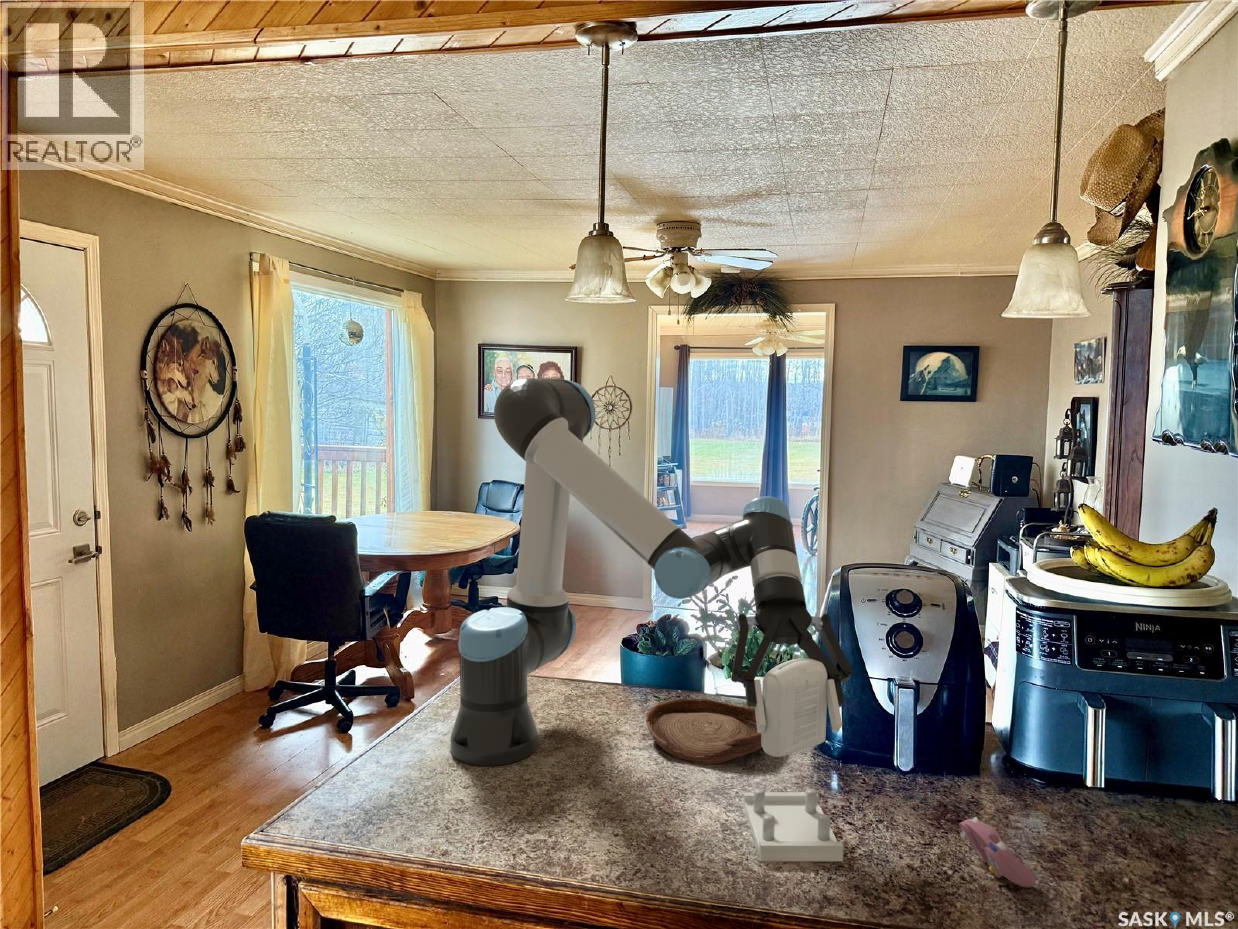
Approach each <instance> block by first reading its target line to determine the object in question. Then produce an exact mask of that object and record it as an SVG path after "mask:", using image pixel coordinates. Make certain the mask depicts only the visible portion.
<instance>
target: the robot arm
mask: <svg viewBox="0 0 1238 929" xmlns="http://www.w3.org/2000/svg"><path fill="white" fill-rule="evenodd" d="M493 418H494V424H495V427H496V428H497V431H498V433H499V434H500V436H501V438H502V439H503V440H504V442H505V443H506V445H508V446H509V447H510V448H511V450H513V451H514V452H515V453H516V454H517V455H518V456H519V457H520V458H521V459H523V461H525V472H524V486H523V496H522V497H523V498H522V509H521V520H520V521H521V523H520V534H519V544H518V545H519V548H518V549H519V550H518V560H517V570H516V572H517V573H516V583H515V585H514V586H513V587H511V589H510V590H508V591H507V597H506V606H504V607H502V606H501V607H500V606H497V607H491V608H490V609H482V610H479V611H477V612H474V613H473V614H471V615H468V616H467V618H465V620H464V621H463V622H462V623H461V625H460V628H459V639H458V645H457V646H458V651H459V652H458V653H459V655H458V656H459V696H460V697H459V698H460V700H459V701H460V702H459V704H460V705H459V708H458V711H457V714H456V715H457V716H456V718H455V722H454V724H453V727H452V731H451V733H450V753H451V755H452V756H453V757H454V758H455V759H457V760H458V761H460V762H463V763H465V764H469V765H474V766H481V767H483V766H487V767H491V766H492V767H493V766H494V767H495V766H505V765H508V764H513V763H516V762H519V761H522V760H523V759H526V758H528V757H530V756H531V755H532V754H533V753H534V752H535V751H536V750H537V748H538V744H539V742H538V740H539V737H538V734H539V733H538V729H537V726H536V723H535V720H534V717H533V714H532V711H531V708H530V705H529V703H528V675H530V674H531V673H533V672H534V671H536V670H538V669H540V668H542V667H543V666H545V665H547V664H548V663H551V662H553V661H555V660H557V659H558V658H559V657H560V656H562V655H563V654H564V653H565V652H567V650H568V649H569V648H570V646H571V645H572V643H573V642H574V639H575V637H576V631H577V620H576V615H575V613H574V611H572V609H571V606H570V605H569V603H570V596H569V594H568V593H567V592H566V590H564V588H563V580H564V568H565V557H566V545H567V544H566V543H567V532H568V524H569V523H568V522H569V521H568V520H569V510H570V498H571V496H572V497H573V498H574V499H576V500H577V501H578V502H579V503H581V505H582V506H584V508H585V509H587V510H588V511H589V512H590V513H591V514H592V515H593V516H595V517H596V519H598V520H599V521H600V522H601V523H602V524H603V525H604V526H606V528H608V529H609V530H610V531H611V532H612V533H613V534H614V535H615V536H616V537H617V538H618V539H620V540H621V541H622V542H623V543H624V544H626V546H627V547H628V548H630V550H632V551H633V552H634V553H635V554H636V555H637V556H639V558H641V559H642V560H643V561H644V562H645V563H646V564H647V565H648V566H650V567H651V568H652V569H653V572H654V573H653V575H654V579H655V583H656V585H657V587H658V588H659V590H660V591H661V592H662V593H663V594H665V595H666V596H668V597H669V598H672V599H679V600H682V599H683V600H684V599H688V598H690V597H693V596H695V595H698V594H700V593H702V592H703V591H704V590H706V588H707V587H709V586H710V585H711V584H713V583H715V582H716V581H718V580H720V579H721V578H723V576H726V575H728V574H730V573H734V572H737V571H739V570H742V569H745V568H748V567H750V574H751V582H752V583H751V584H752V587H753V597H754V598H753V599H754V604H755V615H751V616H746V615H745V614H744V613H741V614H739V615H738V616H737V621H736V629H737V634H738V637H737V642H736V649H735V654H734V659H733V666H732V668H731V669H732V670H731V675H730V680H731V681H732V683H740V684H742V685H743V687H744V691H745V699H746V700H745V701H746V704H747V707H752V708H753V707H755V715H756V723H757V732H758V733H763V731H764V729H765V726H766V721H765V713H764V705H763V698H762V684H761V679H756V677H757V675H758V672H759V670H760V669H761V666H762V664H763V661H764V660H765V657H766V655H767V653H768V651H769V649H770V646H771V645H772V643H773V644H774V645H782V644H787V645H797V646H798V648H799V649H800V650H801V651H803V652H804V653H805V655H806V656H807V657H808V659H813V660H816V661H819V662H821V663H823V665H824V666H825V668H826V671H827V710H828V714H829V715H828V716H829V719H830V720H829V721H830V726H831V733H839V731H840V729H841V728H842V726H843V721H842V716H841V715H842V714H841V710H840V708H841V707H843V705H844V702H845V696H844V691H843V684H842V683H848V682H849V680H850V678H851V677H852V675H853V669H852V666H851V665H850V662H849V661H848V659H847V656H846V655H845V652H844V650H843V648H842V646H841V645H840V643H839V640H838V639H837V636H836V635H835V633H834V630H833V629H832V623H831V616H830V615H829V614H828V613H823V614H822V616H815V615H814V616H812V615H811V614H810V612H809V611H808V609H807V603H806V597H805V592H804V586H803V583H802V575H801V569H800V568H801V567H800V563H799V559H798V554H797V549H796V547H797V546H796V541H795V534H794V525H793V522H792V520H791V516H790V512H789V508H788V505H787V504H786V503H785V502H784V501H783V500H782V499H780V498H778V497H775V496H767V495H766V496H764V495H763V496H759V497H758V496H757V497H756V498H755V497H754V498H753V499H751V500H750V501H749V502H748V503H747V504H746V505H745V506H744V507H743V510H742V519H741V520H737V521H735V522H734V523H730V524H729V525H726V526H723V527H721V528H717V529H714V530H712V531H709V532H706V533H703V534H699V535H696V536H694V537H691V536H689V535H688V534H687V533H686V532H684V530H683V529H681V528H680V527H679V526H678V525H677V524H676V523H675V522H673V520H671V519H670V518H669V517H667V516H666V514H664V513H663V512H662V511H661V510H660V509H659V508H658V507H656V506H655V505H654V504H653V503H652V502H651V501H650V500H649V499H647V497H645V495H643V494H642V493H641V492H639V491H638V490H637V489H636V488H635V487H634V486H633V485H632V484H630V483H629V482H628V481H627V480H626V479H625V478H624V477H622V476H621V475H620V473H618V472H617V471H616V470H615V469H614V468H612V467H611V466H610V465H609V464H608V463H607V462H605V461H604V459H602V458H601V457H600V456H599V455H597V453H595V452H594V451H593V450H592V449H591V448H590V447H588V446H587V444H585V443H584V439H585V438H586V437H587V436H588V434H590V432H591V431H592V430H593V427H594V425H595V422H596V407H595V403H594V401H593V398H592V396H591V395H590V393H589V392H588V391H587V389H586V388H585V387H583V386H582V385H581V384H579V383H578V382H575V381H572V380H570V379H569V380H568V379H563V378H561V377H560V378H554V377H553V378H552V377H551V378H536V377H523V378H519V379H516V380H513V381H511V382H510V383H509V384H507V385H506V386H505V387H504V388H503V389H501V391H500V392H499V394H498V396H497V397H496V400H495V403H494V406H493ZM753 626H755V627H756V628H757V629H758V630H759V631H760V633H762V634H763V637H762V639H761V641H760V644H759V645H758V647H757V650H756V652H755V654H754V656H753V659H752V661H751V663H750V665H749V667H748V669H747V671H745V670H743V664H744V660H745V652H746V647H747V642H748V637H749V636H748V635H749V633H750V632H751V631H752V629H753ZM810 626H813V628H814V629H815V632H817V633H819V637H820V639H821V642H822V643H823V646H824V648H825V650H826V652H827V654H828V656H829V657H828V656H827V655H826V653H825V652H824V651H823V650H822V648H821V647H820V646H819V645H818V644H817V642H816V641H815V639H813V635H812V634H811V632H810V630H809V627H810ZM829 658H830V659H829Z"/></svg>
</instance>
